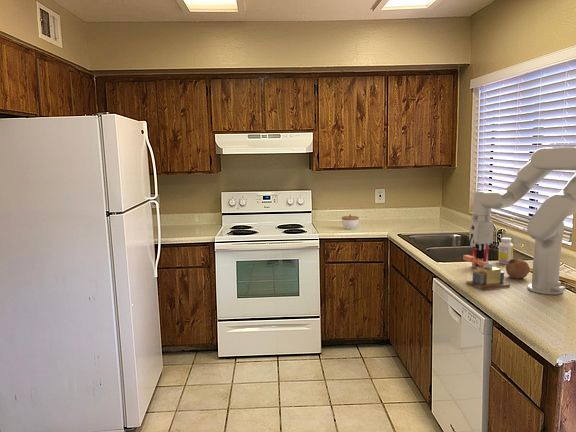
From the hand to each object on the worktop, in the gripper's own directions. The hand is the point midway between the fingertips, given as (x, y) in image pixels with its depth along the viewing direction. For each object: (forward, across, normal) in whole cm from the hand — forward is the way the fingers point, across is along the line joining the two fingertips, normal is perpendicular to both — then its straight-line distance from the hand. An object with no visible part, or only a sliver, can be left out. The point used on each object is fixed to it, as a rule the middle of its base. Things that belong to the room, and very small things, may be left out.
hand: (479, 258), depth 203 cm
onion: (+9, +14, -8) cm, 19 cm away
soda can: (+9, +13, +13) cm, 20 cm away
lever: (+1, -6, -5) cm, 8 cm away
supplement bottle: (+9, +31, +15) cm, 35 cm away
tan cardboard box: (+9, -6, -12) cm, 16 cm away
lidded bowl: (+10, +9, +139) cm, 139 cm away
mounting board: (+9, -6, -12) cm, 16 cm away
